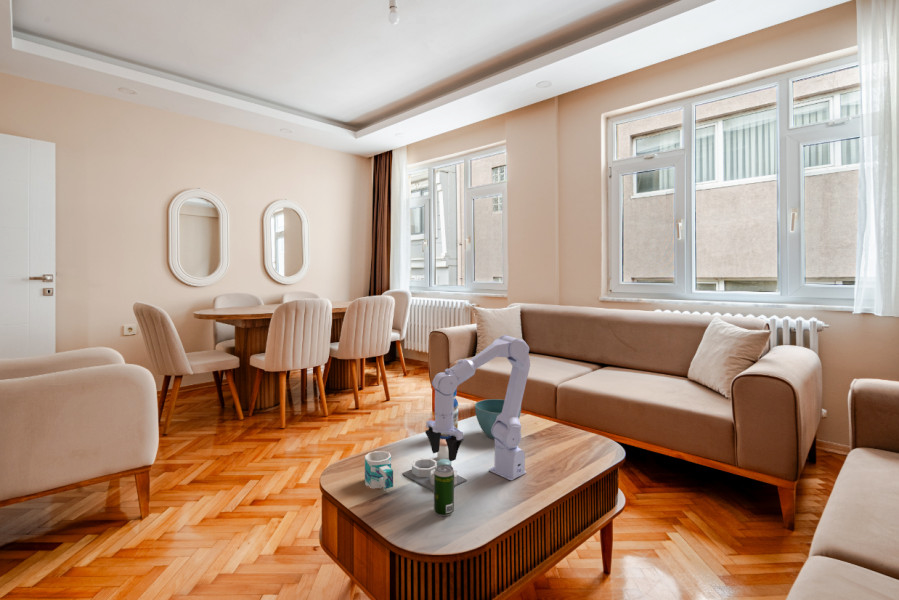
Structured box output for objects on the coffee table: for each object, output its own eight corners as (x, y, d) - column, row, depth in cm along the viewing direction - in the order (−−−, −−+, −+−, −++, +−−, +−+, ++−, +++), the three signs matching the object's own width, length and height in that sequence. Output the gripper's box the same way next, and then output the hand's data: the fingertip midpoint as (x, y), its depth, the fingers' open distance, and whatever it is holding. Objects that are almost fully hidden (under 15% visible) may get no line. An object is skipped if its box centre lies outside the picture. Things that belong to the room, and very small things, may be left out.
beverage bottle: (449, 432, 175) (449, 383, 174) (462, 438, 168) (463, 388, 167) (432, 436, 170) (432, 386, 169) (445, 443, 163) (445, 391, 162)
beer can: (457, 511, 116) (458, 468, 116) (444, 519, 112) (444, 475, 112) (443, 504, 120) (443, 462, 119) (429, 512, 116) (429, 468, 115)
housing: (466, 481, 134) (466, 471, 133) (437, 494, 125) (437, 484, 125) (430, 463, 146) (430, 454, 146) (402, 474, 138) (402, 465, 138)
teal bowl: (499, 424, 184) (500, 396, 183) (530, 438, 169) (530, 407, 168) (465, 433, 174) (465, 403, 173) (494, 448, 159) (495, 415, 158)
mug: (384, 473, 138) (384, 448, 138) (401, 489, 128) (401, 462, 128) (360, 480, 134) (360, 454, 133) (376, 497, 124) (375, 469, 123)
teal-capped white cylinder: (454, 481, 132) (454, 462, 132) (443, 486, 129) (443, 466, 129) (444, 476, 136) (444, 457, 135) (433, 480, 132) (433, 461, 132)
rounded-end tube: (452, 458, 150) (453, 441, 150) (443, 462, 147) (443, 445, 147) (444, 454, 153) (444, 438, 153) (434, 458, 150) (434, 441, 150)
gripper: (418, 409, 134) (418, 452, 134) (451, 421, 123) (450, 467, 124) (435, 405, 138) (435, 446, 139) (468, 416, 128) (467, 460, 129)
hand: (443, 456), depth 132 cm, fingers open, 7 cm apart
